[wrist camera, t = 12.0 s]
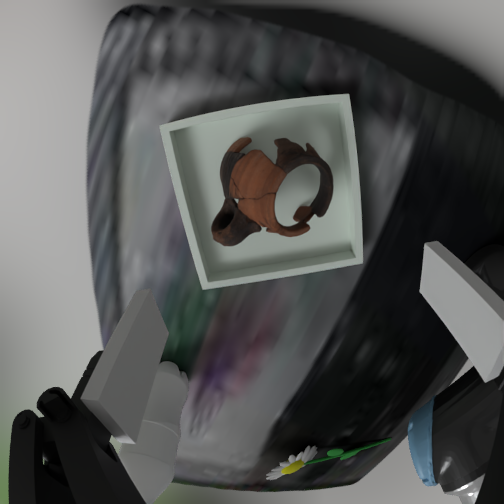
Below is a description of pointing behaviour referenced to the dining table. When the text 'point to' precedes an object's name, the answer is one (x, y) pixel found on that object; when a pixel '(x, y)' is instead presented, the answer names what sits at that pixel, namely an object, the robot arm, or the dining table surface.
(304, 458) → the decorative flower
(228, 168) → the broken clay pot
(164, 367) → the water bottle
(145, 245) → the dining table surface
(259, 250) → the tray
